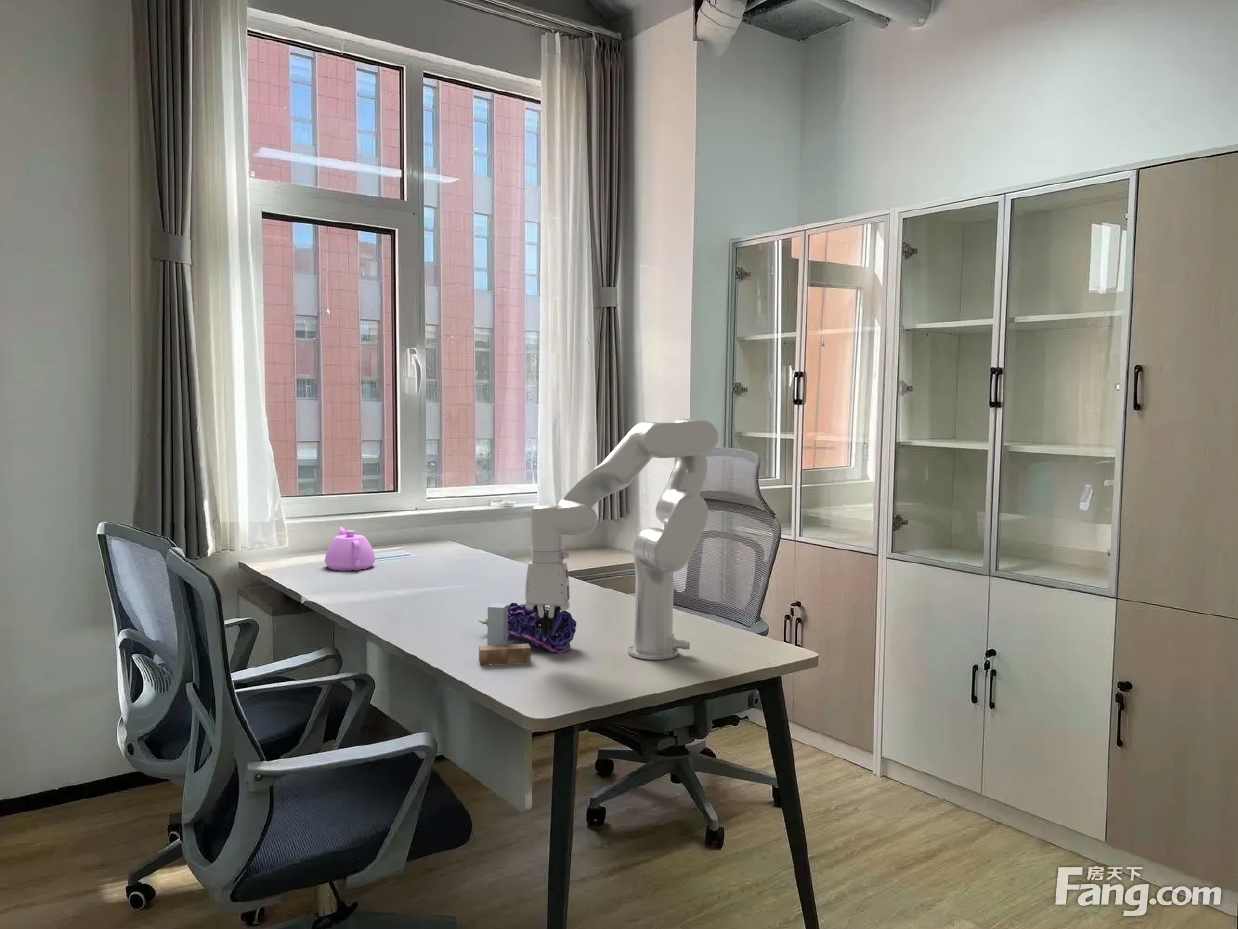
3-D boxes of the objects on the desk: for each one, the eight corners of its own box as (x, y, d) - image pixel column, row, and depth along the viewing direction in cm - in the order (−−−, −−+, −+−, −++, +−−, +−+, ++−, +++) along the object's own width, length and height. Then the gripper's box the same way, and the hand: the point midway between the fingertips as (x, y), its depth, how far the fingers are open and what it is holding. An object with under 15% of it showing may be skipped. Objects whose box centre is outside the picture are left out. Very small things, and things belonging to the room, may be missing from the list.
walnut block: (528, 643, 224) (478, 645, 221) (530, 648, 220) (480, 650, 217) (528, 659, 224) (478, 662, 221) (530, 664, 220) (480, 666, 217)
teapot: (383, 570, 333) (383, 533, 332) (333, 574, 324) (333, 536, 323) (363, 559, 354) (363, 524, 353) (316, 563, 345) (316, 527, 344)
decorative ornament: (543, 630, 223) (465, 607, 243) (550, 668, 226) (473, 642, 246) (580, 607, 232) (502, 586, 252) (587, 644, 235) (510, 620, 255)
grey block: (507, 651, 230) (507, 604, 229) (503, 655, 226) (503, 607, 225) (492, 650, 230) (492, 603, 229) (487, 654, 226) (487, 607, 225)
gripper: (581, 555, 220) (581, 630, 221) (520, 553, 222) (521, 627, 224) (574, 560, 212) (574, 638, 214) (512, 558, 215) (512, 635, 216)
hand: (547, 632), depth 219 cm, fingers closed
